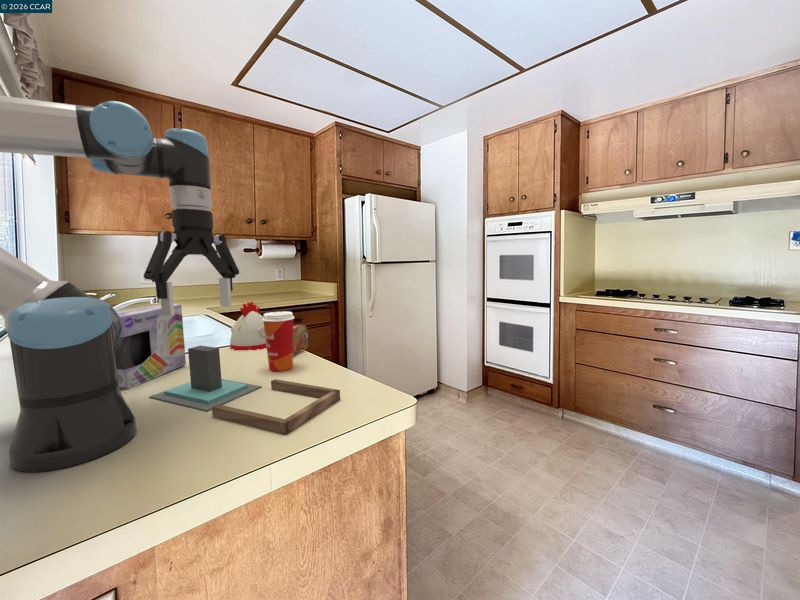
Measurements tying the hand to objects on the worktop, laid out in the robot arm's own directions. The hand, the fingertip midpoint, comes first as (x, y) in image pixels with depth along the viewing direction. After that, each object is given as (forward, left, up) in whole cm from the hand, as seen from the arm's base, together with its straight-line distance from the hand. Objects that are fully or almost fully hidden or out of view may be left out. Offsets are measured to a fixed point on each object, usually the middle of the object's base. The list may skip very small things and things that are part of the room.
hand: (199, 310), depth 78 cm
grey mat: (0, 0, -19) cm, 19 cm away
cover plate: (0, 0, -18) cm, 18 cm away
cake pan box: (+2, +23, -19) cm, 30 cm away
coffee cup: (+20, -3, -19) cm, 28 cm away
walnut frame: (0, -20, -19) cm, 27 cm away
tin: (+34, +4, -19) cm, 39 cm away
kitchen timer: (+36, +24, -19) cm, 47 cm away
